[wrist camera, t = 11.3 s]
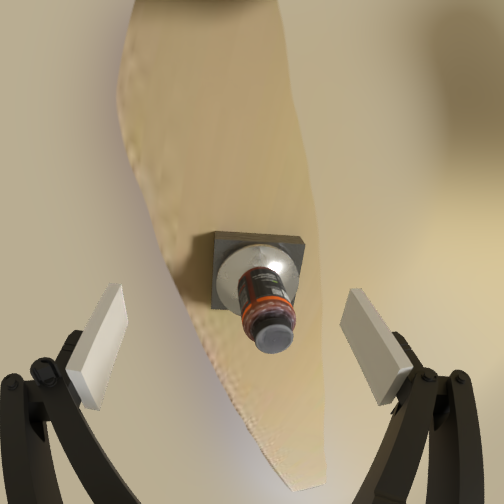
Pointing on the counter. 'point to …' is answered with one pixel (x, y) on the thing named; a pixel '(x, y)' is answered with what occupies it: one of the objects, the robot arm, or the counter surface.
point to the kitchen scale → (252, 263)
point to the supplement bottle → (266, 310)
